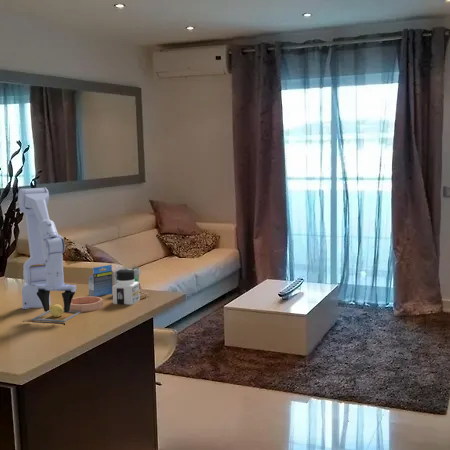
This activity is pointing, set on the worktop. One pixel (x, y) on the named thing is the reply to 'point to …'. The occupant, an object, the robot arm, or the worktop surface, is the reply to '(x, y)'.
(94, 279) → the label tape box
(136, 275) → the food container
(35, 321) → the tray
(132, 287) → the container
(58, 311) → the ball
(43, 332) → the worktop surface
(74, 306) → the bowl
